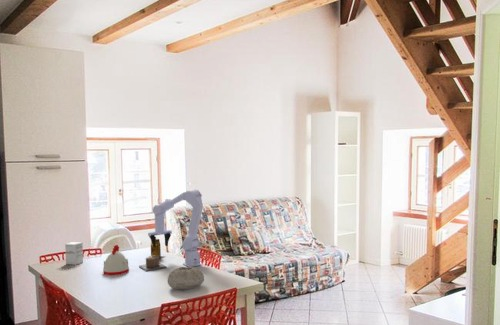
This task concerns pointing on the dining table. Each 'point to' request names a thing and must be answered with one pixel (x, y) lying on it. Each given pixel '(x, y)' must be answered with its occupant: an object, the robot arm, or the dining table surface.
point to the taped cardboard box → (152, 261)
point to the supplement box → (74, 253)
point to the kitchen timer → (115, 263)
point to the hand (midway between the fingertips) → (160, 246)
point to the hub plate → (152, 267)
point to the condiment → (156, 249)
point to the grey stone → (185, 278)
